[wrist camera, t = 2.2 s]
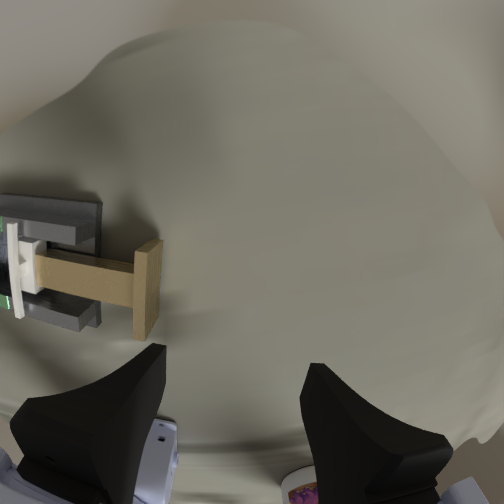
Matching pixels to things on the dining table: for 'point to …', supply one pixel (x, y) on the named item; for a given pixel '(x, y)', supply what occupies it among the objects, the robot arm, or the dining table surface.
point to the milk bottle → (300, 487)
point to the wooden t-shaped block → (108, 280)
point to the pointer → (22, 265)
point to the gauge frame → (59, 238)
